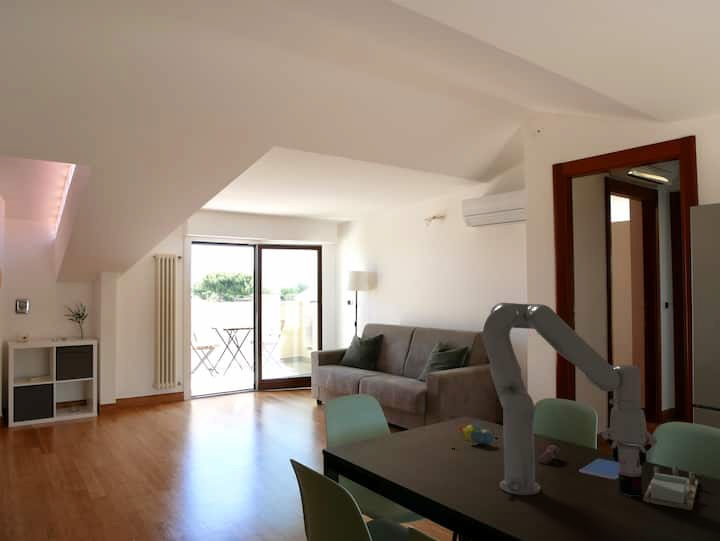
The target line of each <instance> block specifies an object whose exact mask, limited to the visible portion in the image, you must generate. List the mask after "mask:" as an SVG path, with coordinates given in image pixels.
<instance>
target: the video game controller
mask: <svg viewBox="0 0 720 541" xmlns="http://www.w3.org/2000/svg"><path fill="white" fill-rule="evenodd" d="M559 450H560V447H559V446H557V445H555V444H552V445H551V444H550V445H549V446H547V449H546V450H545V451H544V452H543V453H542V454H540V455H539V456H538V457H537V458H536V459H537V462H538V463H539V462H541V464H542V463H545V462H548V463H550V462H551V461H553V460H554V459H555V457H556V456H557V454H558V453H559ZM552 459H553V460H552Z"/></svg>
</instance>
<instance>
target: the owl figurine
mask: <svg viewBox="0 0 720 541" xmlns="http://www.w3.org/2000/svg"><path fill="white" fill-rule="evenodd" d="M464 426H465V428H463V427H462V426H461V425H459V426H458V427H457V428H458V430H459V432H460V433H461V434H460V435H461V436H463V435H464V437H465V440H464V441H470V442H472V443H478V444H479V445H488V444H489V445H490V444H492V443H493V439H494V438H493V437H494V433H491V432H490V430H488V429H486V428H485V427H484V426H481V425H480V424H477V423H473V422H472V423H471V424H469V425H467V424H465V425H464Z"/></svg>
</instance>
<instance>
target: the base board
mask: <svg viewBox="0 0 720 541" xmlns="http://www.w3.org/2000/svg"><path fill="white" fill-rule="evenodd" d="M671 469H672V475H671V474H670V475H671V476H677V477H679V467H678V466H675V465H674V466H672V468H671ZM655 473H658V474H661V473H660V467H659V466H654V467H653V474H655ZM663 474H664V475H666V474H665V473H663ZM688 476H689V477H685V476H682V477H683V478H686V497H685V500H684V504H683V503H677V502H672V501H666V500H661V499H656V498H651V485H652V483H653V481H654V475H653V477H652V479H651V481H650V482H649V485H648V487H647V489H646V491H645V493H644V495H643V497H642V498H643V500H642V501H643V502H644V501H646V502H645V503H649V502H651V503H650V504H656V505H660V506H661V505H662V506H667V507H670V508H677V509H681V508H682V509H683V510H686V509H687V511H692V510H693V507H694V503H695V502H694V501H695V499H694V498H696V494H697V489H698V485H699V479H697V478H696V473H695V472H693V471H689V472H688Z"/></svg>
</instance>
